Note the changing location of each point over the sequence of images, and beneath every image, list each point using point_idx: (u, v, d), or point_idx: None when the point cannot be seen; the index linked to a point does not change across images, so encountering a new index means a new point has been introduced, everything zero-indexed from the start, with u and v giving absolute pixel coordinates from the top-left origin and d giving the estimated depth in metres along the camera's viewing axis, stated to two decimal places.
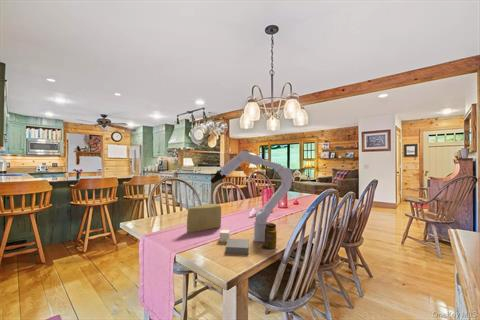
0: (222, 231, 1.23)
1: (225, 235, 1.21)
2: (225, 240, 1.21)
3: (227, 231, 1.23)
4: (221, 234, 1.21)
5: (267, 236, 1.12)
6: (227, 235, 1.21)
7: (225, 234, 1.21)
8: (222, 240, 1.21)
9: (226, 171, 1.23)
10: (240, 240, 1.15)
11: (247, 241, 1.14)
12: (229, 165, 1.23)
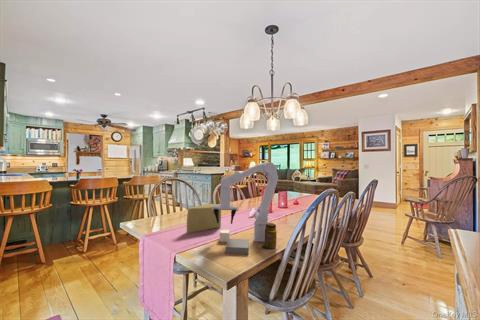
0: (222, 231, 1.23)
1: (225, 235, 1.21)
2: (225, 240, 1.21)
3: (227, 231, 1.23)
4: (221, 234, 1.21)
5: (267, 236, 1.12)
6: (227, 235, 1.21)
7: (225, 234, 1.21)
8: (222, 240, 1.21)
9: None
10: (240, 240, 1.15)
11: (247, 241, 1.14)
12: (229, 199, 1.22)
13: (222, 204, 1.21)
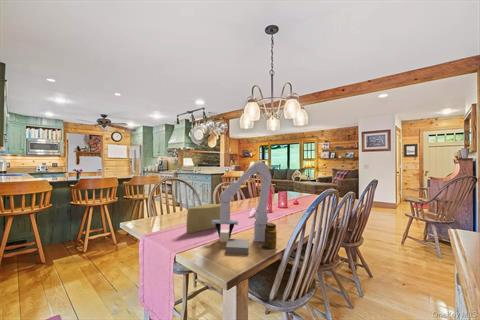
0: (222, 231, 1.23)
1: (225, 234, 1.21)
2: (225, 240, 1.21)
3: (227, 231, 1.23)
4: (221, 234, 1.21)
5: (267, 236, 1.12)
6: (227, 235, 1.21)
7: (225, 234, 1.21)
8: (222, 240, 1.21)
9: None
10: (240, 240, 1.15)
11: (247, 241, 1.14)
12: (229, 213, 1.22)
13: (222, 219, 1.21)
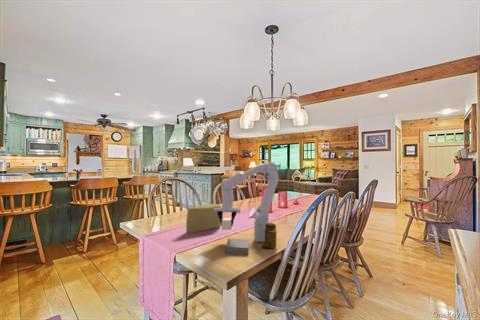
0: (224, 219, 1.21)
1: (227, 222, 1.19)
2: (227, 228, 1.19)
3: (229, 219, 1.21)
4: (223, 222, 1.19)
5: (267, 236, 1.12)
6: (229, 223, 1.19)
7: (227, 222, 1.19)
8: (224, 228, 1.19)
9: None
10: (240, 240, 1.15)
11: (247, 241, 1.14)
12: (231, 201, 1.20)
13: (224, 206, 1.19)
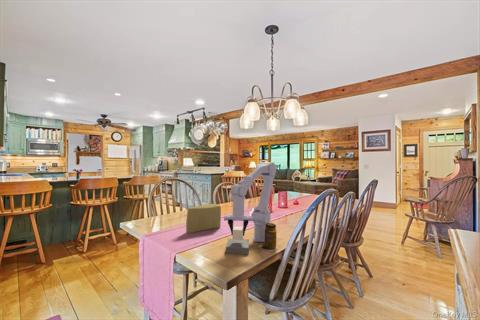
0: (235, 228, 1.11)
1: (239, 232, 1.09)
2: (239, 238, 1.09)
3: (241, 228, 1.12)
4: (234, 231, 1.09)
5: (267, 236, 1.12)
6: (241, 232, 1.09)
7: (239, 231, 1.09)
8: (235, 238, 1.09)
9: None
10: (240, 240, 1.15)
11: (247, 241, 1.14)
12: (243, 208, 1.11)
13: (235, 214, 1.09)
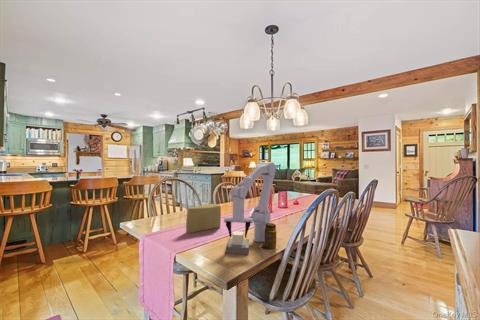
0: (235, 233, 1.12)
1: (239, 237, 1.09)
2: (238, 243, 1.09)
3: (240, 233, 1.12)
4: (234, 236, 1.09)
5: (267, 236, 1.12)
6: (241, 237, 1.09)
7: (238, 236, 1.09)
8: (235, 243, 1.09)
9: None
10: None
11: (247, 241, 1.14)
12: (243, 210, 1.11)
13: (235, 216, 1.09)
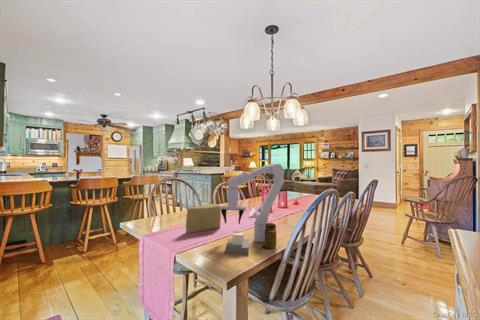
0: (235, 233, 1.12)
1: (239, 237, 1.09)
2: (238, 243, 1.09)
3: (240, 233, 1.12)
4: (234, 236, 1.09)
5: (267, 236, 1.12)
6: (241, 237, 1.09)
7: (238, 236, 1.09)
8: (235, 243, 1.09)
9: None
10: None
11: (247, 241, 1.14)
12: (237, 199, 1.23)
13: (230, 204, 1.21)
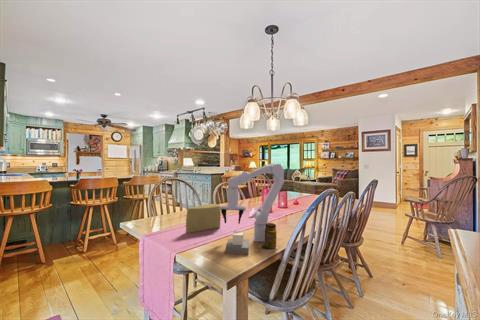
0: (235, 233, 1.12)
1: (239, 237, 1.09)
2: (238, 243, 1.09)
3: (240, 233, 1.12)
4: (234, 236, 1.09)
5: (267, 236, 1.12)
6: (241, 237, 1.09)
7: (238, 236, 1.09)
8: (235, 243, 1.09)
9: (237, 205, 1.24)
10: None
11: (247, 241, 1.14)
12: (237, 199, 1.23)
13: (230, 204, 1.21)
